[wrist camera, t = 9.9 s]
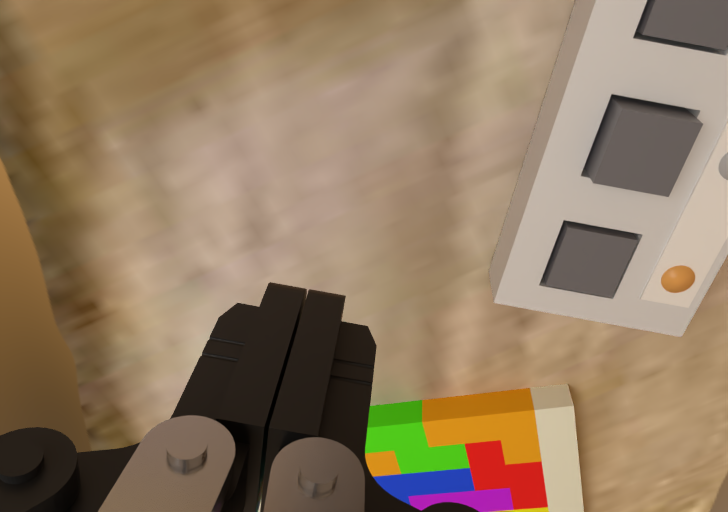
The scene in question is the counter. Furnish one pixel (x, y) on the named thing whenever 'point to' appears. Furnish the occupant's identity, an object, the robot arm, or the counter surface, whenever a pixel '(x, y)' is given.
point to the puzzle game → (479, 451)
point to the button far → (589, 258)
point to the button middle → (641, 145)
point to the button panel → (616, 205)
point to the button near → (687, 21)
